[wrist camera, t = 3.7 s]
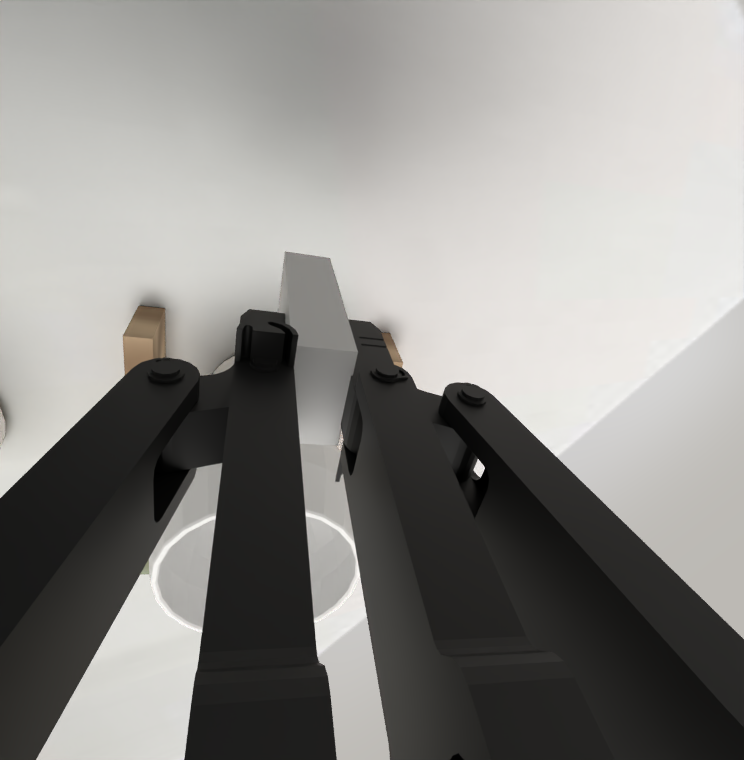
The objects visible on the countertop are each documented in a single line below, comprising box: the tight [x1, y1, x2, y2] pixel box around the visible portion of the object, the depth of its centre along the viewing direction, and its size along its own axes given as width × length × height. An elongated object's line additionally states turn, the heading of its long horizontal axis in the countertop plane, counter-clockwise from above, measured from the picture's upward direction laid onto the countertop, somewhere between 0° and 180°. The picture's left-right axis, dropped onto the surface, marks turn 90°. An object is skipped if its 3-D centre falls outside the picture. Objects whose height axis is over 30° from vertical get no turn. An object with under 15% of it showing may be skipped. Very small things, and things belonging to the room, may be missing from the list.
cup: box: [149, 356, 360, 633], centre depth 29 cm, size 11×11×15 cm
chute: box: [123, 306, 403, 574], centre depth 36 cm, size 20×16×4 cm
